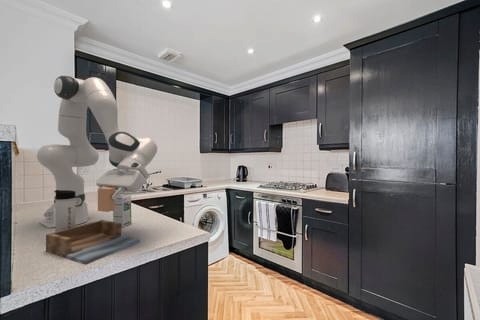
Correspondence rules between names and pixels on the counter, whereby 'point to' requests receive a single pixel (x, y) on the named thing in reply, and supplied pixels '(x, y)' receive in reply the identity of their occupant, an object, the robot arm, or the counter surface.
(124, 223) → the syrup box
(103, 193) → the terracotta block
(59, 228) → the travel mug
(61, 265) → the counter surface
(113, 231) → the crate
